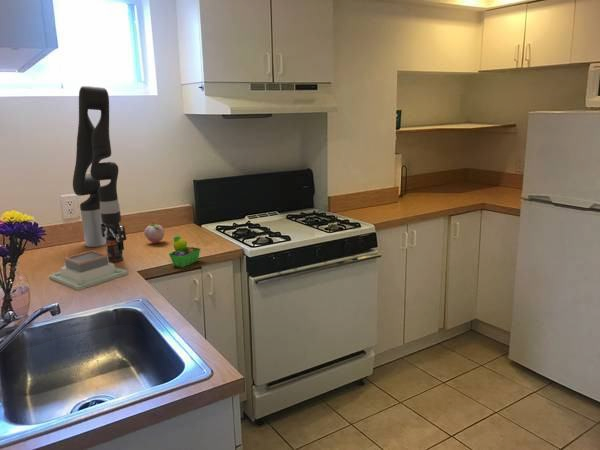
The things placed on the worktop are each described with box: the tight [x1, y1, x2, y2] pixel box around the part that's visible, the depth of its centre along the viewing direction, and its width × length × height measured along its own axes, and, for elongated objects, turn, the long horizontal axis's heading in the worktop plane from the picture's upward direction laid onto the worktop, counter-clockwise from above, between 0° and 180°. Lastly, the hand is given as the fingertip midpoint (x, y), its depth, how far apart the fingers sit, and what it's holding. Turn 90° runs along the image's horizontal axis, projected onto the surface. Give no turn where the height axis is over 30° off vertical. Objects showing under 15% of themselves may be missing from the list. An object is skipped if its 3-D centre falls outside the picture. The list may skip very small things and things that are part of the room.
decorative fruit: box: [144, 222, 166, 244], centre depth 228 cm, size 9×8×10 cm
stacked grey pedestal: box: [48, 249, 129, 291], centre depth 187 cm, size 22×20×8 cm
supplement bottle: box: [105, 234, 124, 263], centre depth 205 cm, size 6×6×11 cm
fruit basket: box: [168, 235, 201, 268], centre depth 198 cm, size 11×9×11 cm
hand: (115, 248), depth 205 cm, fingers open, 8 cm apart
